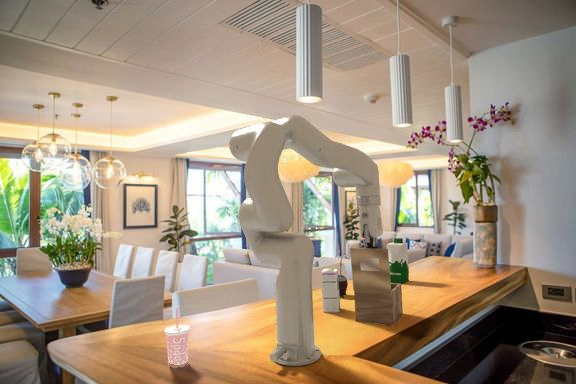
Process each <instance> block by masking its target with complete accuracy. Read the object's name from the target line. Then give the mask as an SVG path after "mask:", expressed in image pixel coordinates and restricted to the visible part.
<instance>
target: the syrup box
mask: <svg viewBox="0 0 576 384" xmlns="http://www.w3.org/2000/svg"><path fill="white" fill-rule="evenodd" d="M338 275H339V269H338V268H323V269H322V270H321V272H320V276H321V294H322V295H321V297H322V310H323V311H322V312H324V313H339V312H340V311H341V300H340V299H341V297H340V294H339V279H338Z"/></svg>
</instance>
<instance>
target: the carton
mask: <svg viewBox="0 0 576 384" xmlns="http://www.w3.org/2000/svg"><path fill="white" fill-rule="evenodd" d="M402 292H403V291H402V284H401V283H391V294H386V293H374V292H361V291H354V290H353V293H354V294H353V295H354V312H355V322H358V323H366V324H374V323H375V325H382V324H386V325H385V326H390V325H393V326H394V325H395V324H396V323H397V321H398V320H399V319H400V318H401V316H402V315H403V314H404V312H403V311H404V310H403V293H402ZM398 318H399V319H398ZM395 322H396V323H395ZM394 323H395V324H394Z"/></svg>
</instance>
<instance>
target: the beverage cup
mask: <svg viewBox="0 0 576 384" xmlns="http://www.w3.org/2000/svg"><path fill="white" fill-rule="evenodd" d="M178 314H179V310H178V307H175V323H176V324H174V325H171V326H168V327H166V328H165V329H164V335H165V337H166V338H165V339H166V350H167V358H168V359H167V360H168V361H167V362H168V364H169V363H170V364H174V365H181V364H184V363H186V362H187V361H188V362H189V342H190V341H189V340H190V339H189V338H190V337H189V334H190V333H189V332H191V331H190V330H191V327H190V325H189V324H179V315H178Z"/></svg>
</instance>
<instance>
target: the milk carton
mask: <svg viewBox="0 0 576 384" xmlns="http://www.w3.org/2000/svg"><path fill="white" fill-rule="evenodd" d="M403 239H404V238H402V237H398V238H397V237H395V238H393V242H389V243H386V249H388V255H389V268H390V281H391V283H397V284H401V285H402V284H403V285H404V284H406V283H408V282H409V279H410V269H409V267H410V265H409V250H408V249H409V247H408V245H409V244H408V242H404V241H403Z"/></svg>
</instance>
